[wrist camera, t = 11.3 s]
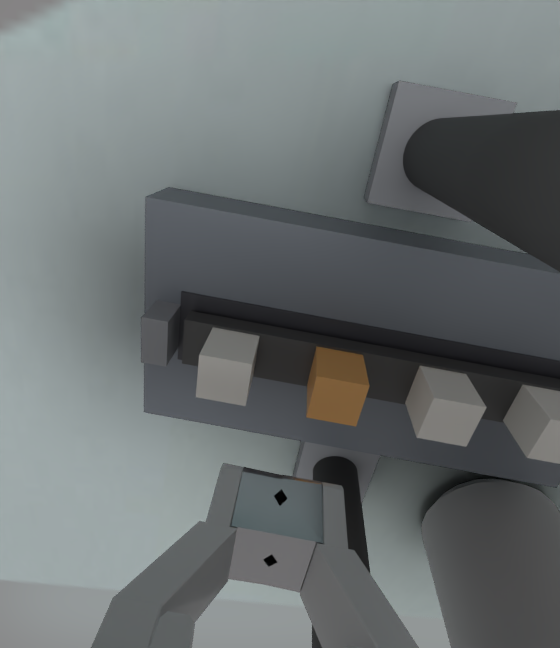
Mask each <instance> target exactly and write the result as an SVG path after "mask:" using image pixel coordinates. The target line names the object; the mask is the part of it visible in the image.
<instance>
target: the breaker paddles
mask: <svg viewBox="0 0 560 648" xmlns="http://www.w3.org/2000/svg"><path fill="white" fill-rule="evenodd" d="M182 364H187V365H193V366H198V375H197V387H196V397H198V398H203V399H209V400H214V401H220V402H225V403H230V404H236V405H241V406H246V402H247V398H248V394H249V390H250V386H251V382H252V378H253V377H258V378H263V379H269V380H274V381H280V382H285V383H290V384H296V385H301V386H307V412H306V417H307V418H312V419H318V420H323V421H329V422H334V423H339V424H345V425H350V426H356V425H357V422H358V419H359V416H360V413H361V410H362V407H363V404H364V401H365V398H366V397H367V398H372V399H377V400H383V401H388V402H394V403H399V404H405V405H406V407H407V410H408V413H409V416H410V419H411V422H412V425H413V428H414V431H415V434H416V437H417V438H421V439H427V440H432V441H438V442H443V443H448V444H454V445H459V446H465V447H466V446H467V444H468V442H469V441H470V439H471V437H472V435H473V433H474V431H475V429H476V427H477V425H478V423H479V421H480V419H486V420H492V421H497V422H502V423H505V425H506V426H507V428H508V429H509V431H510V433H511V434H512V436H513V437H514V439H515V440H516V442H517V443H518V445H519V447H520V448H521V450H522V451H523V453H524V454H525V456H526V457H527V458H530V459H536V460H541V461H546V462H552V463H557V464H560V379H557V378H551V377H546V376H541V375H535V374H530V373H524V372H519V371H514V370H508V369H503V368H497V367H492V366H486V365H481V364H476V363H470V362H465V361H459V360H454V359H449V358H443V357H438V356H432V355H427V354H421V353H416V352H411V351H405V350H400V349H394V348H389V347H384V346H378V345H373V344H367V343H362V342H356V341H351V340H346V339H340V338H335V337H329V336H324V335H319V334H313V333H308V332H302V331H297V330H292V329H286V328H281V327H275V326H270V325H264V324H259V323H254V322H248V321H243V320H237V319H232V318H227V317H221V316H216V315H210V314H205V313H199V312H194V311H190V312H189V314H188V315H187V317H186V318H185V321H184V338H183V354H182Z"/></svg>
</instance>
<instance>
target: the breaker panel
mask: <svg viewBox="0 0 560 648" xmlns="http://www.w3.org/2000/svg"><path fill="white" fill-rule="evenodd" d="M190 311H194V312H199V313H205V314H210V315H216V316H221V317H227V318H232V319H237V320H243V321H248V322H254V323H259V324H264V325H270V326H275V327H281V328H286V329H292V330H297V331H302V332H308V333H313V334H319V335H324V336H329V337H335V338H340V339H346V340H351V341H356V342H362V343H367V344H373V345H378V346H384V347H389V348H394V349H400V350H405V351H411V352H416V353H421V354H427V355H432V356H438V357H443V358H449V359H454V360H459V361H465V362H470V363H476V364H481V365H486V366H492V367H497V368H503V369H508V370H514V371H519V372H524V373H530V374H535V375H541V376H546V377H551V378H557V379H560V272H559V271H557V270H556V269H554V268H552V267H550V266H549V265H547V264H545V263H544V262H542V261H540V260H539V259H537V258H535V257H534V256H532V255H530V254H524V253H519V252H514V251H508V250H503V249H498V248H492V247H487V246H481V245H476V244H471V243H465V242H460V241H455V240H449V239H444V238H439V237H433V236H428V235H422V234H417V233H412V232H406V231H401V230H396V229H390V228H385V227H380V226H374V225H369V224H363V223H358V222H353V221H347V220H342V219H337V218H331V217H326V216H320V215H315V214H310V213H304V212H299V211H294V210H288V209H283V208H278V207H272V206H267V205H261V204H256V203H251V202H245V201H240V200H235V199H229V198H224V197H218V196H213V195H208V194H202V193H197V192H192V191H186V190H181V189H176V188H170V187H168V188H165V189H163V190H161V191H158V192H156V193H154V194H151V195H149V196H146V201H145V314H144V315H143V316H142V317H141V362H143V363H144V412H146V413H151V414H157V415H162V416H168V417H173V418H178V419H184V420H189V421H195V422H200V423H206V424H211V425H217V426H222V427H228V428H233V429H238V430H244V431H249V432H255V433H260V434H266V435H271V436H277V437H282V438H288V439H293V440H299V441H304V442H309V443H315V444H320V445H326V446H331V447H337V448H342V449H348V450H353V451H359V452H364V453H369V454H375V455H380V456H386V457H391V458H397V459H402V460H408V461H413V462H419V463H424V464H430V465H435V466H440V467H446V468H451V469H457V470H462V471H468V472H473V473H479V474H484V475H490V476H495V477H500V478H506V479H511V480H517V481H522V482H528V483H533V484H539V485H544V486H550V487H555V488H557V486H558V485H559V483H560V464H557V463H552V462H546V461H541V460H536V459H530V458H527V457H526V456H525V454H524V453H523V451H522V450H521V448H520V447H519V445H518V443H517V442H516V440H515V439H514V437H513V436H512V434H511V433H510V431H509V429H508V428H507V426H506V425H505V423H502V422H497V421H492V420H486V419H480V421H479V423H478V425H477V427H476V429H475V431H474V433H473V435H472V437H471V439H470V441H469V442H468V444H467V446H466V447H465V446H459V445H454V444H448V443H443V442H438V441H432V440H427V439H421V438H417V437H416V434H415V431H414V428H413V425H412V422H411V419H410V416H409V413H408V410H407V407H406V405H405V404H399V403H394V402H388V401H383V400H377V399H372V398H367V397H366V398H365V401H364V404H363V407H362V410H361V413H360V416H359V419H358V422H357V425H356V426H350V425H345V424H339V423H334V422H329V421H323V420H318V419H312V418H307V417H306V412H307V386H301V385H296V384H290V383H285V382H280V381H274V380H269V379H263V378H258V377H253V378H252V382H251V386H250V390H249V394H248V398H247V402H246V406H241V405H236V404H230V403H225V402H220V401H214V400H209V399H203V398H198V397H196V387H197V375H198V366H193V365H187V364H182V354H183V338H184V321H185V318H186V317H187V315H188V314H189V312H190Z"/></svg>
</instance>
